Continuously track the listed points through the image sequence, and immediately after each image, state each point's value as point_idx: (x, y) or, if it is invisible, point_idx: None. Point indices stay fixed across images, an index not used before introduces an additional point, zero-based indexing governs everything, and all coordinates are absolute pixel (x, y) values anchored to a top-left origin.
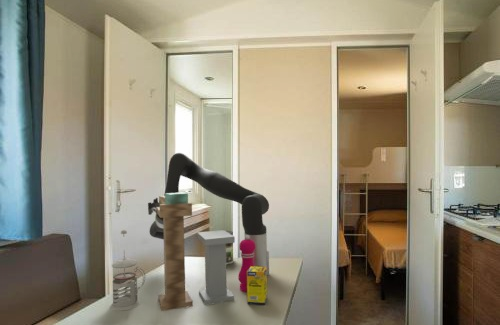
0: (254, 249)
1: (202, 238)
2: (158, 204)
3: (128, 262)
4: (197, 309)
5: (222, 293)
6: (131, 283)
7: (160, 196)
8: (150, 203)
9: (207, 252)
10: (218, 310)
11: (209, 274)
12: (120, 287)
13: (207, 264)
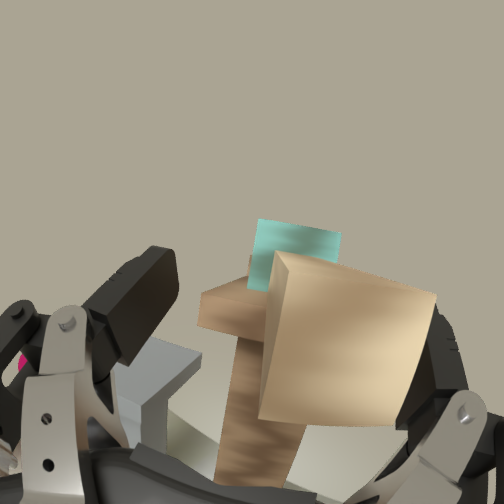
0: None
1: (187, 369)
2: (403, 468)
3: None
4: (210, 478)
5: None
6: None
7: (389, 280)
8: (501, 417)
9: (160, 410)
10: (181, 453)
11: (165, 444)
12: None
13: (158, 439)
